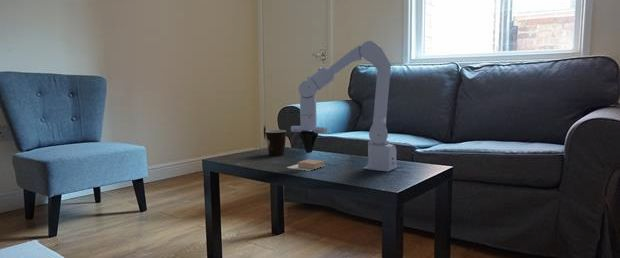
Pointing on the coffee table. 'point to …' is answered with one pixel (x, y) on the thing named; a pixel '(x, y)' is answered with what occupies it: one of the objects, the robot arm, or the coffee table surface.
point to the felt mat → (300, 168)
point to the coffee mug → (276, 142)
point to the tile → (310, 164)
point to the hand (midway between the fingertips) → (309, 152)
